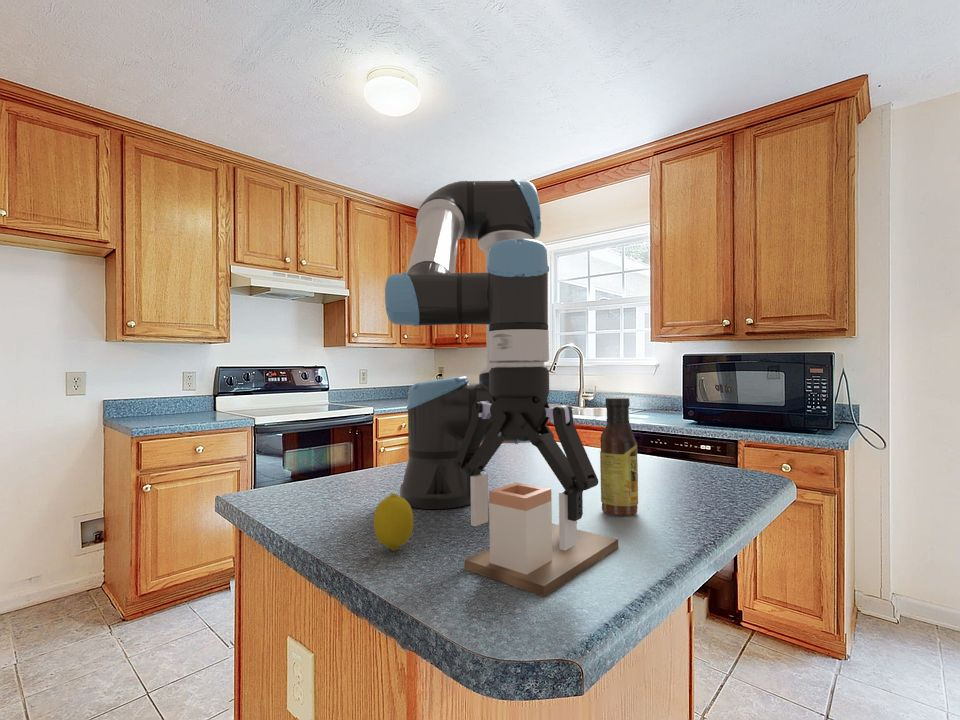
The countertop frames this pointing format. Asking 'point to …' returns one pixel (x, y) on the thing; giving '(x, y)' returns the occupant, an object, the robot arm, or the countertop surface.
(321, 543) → the countertop surface
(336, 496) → the countertop surface
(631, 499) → the sauce bottle
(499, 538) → the sleeve
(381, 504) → the lemon
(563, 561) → the pin board
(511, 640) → the countertop surface
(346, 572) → the countertop surface
